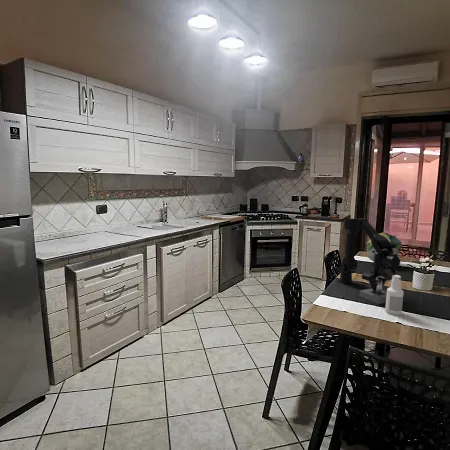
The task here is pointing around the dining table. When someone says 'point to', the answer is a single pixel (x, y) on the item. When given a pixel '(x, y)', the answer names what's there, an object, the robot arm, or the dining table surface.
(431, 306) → the dining table surface
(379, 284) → the peg
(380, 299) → the socket
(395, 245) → the flower arrangement
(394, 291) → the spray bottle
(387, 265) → the robot arm
